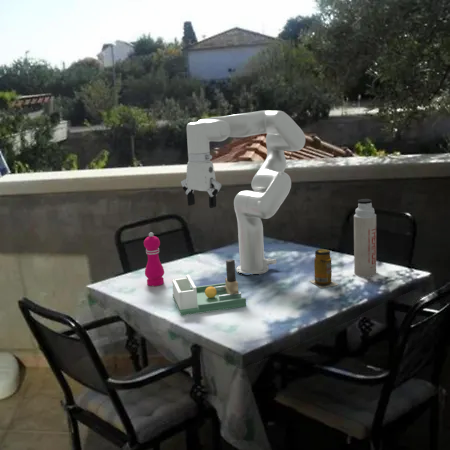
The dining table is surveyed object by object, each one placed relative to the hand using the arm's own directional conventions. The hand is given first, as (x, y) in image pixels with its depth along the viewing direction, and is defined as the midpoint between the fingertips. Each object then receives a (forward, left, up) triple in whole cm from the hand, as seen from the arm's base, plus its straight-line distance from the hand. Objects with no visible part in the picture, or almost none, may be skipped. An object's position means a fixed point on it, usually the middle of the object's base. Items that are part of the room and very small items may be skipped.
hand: (202, 206), depth 224 cm
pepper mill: (+18, -12, -31) cm, 37 cm away
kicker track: (-4, +14, -29) cm, 33 cm away
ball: (+2, +14, -27) cm, 31 cm away
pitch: (+3, +14, -30) cm, 34 cm away
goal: (+11, +14, -29) cm, 34 cm away
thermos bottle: (-58, +8, -31) cm, 66 cm away
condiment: (-40, +12, -31) cm, 52 cm away
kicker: (-6, +14, -29) cm, 33 cm away
